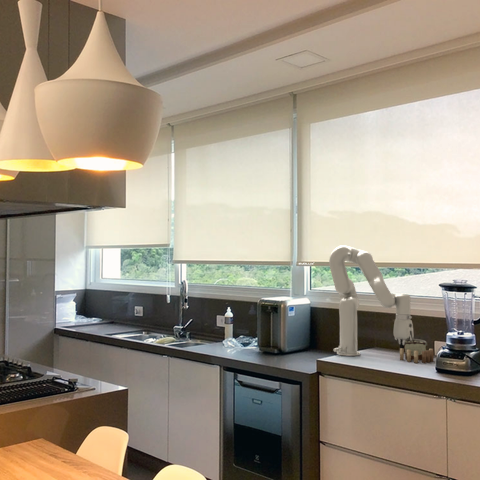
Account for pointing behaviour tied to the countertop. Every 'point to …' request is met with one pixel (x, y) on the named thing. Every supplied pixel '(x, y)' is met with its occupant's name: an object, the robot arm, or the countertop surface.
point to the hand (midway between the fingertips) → (403, 351)
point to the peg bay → (426, 355)
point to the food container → (414, 347)
